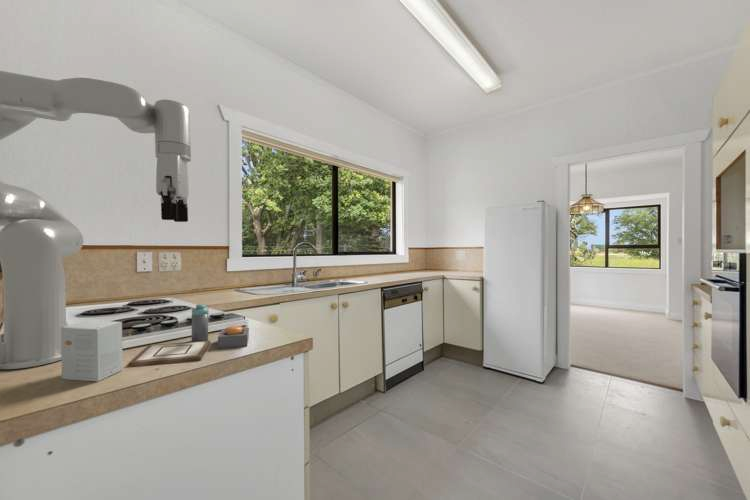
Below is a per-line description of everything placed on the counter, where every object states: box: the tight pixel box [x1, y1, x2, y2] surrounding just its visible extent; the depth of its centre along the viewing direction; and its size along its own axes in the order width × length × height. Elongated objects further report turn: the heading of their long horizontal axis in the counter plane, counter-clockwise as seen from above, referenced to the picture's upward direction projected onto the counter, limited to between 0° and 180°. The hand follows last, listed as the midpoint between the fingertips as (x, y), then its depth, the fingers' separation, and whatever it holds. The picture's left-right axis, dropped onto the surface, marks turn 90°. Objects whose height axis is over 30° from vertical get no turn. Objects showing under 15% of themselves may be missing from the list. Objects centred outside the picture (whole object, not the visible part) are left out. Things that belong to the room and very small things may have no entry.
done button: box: [225, 325, 243, 335], centre depth 85 cm, size 4×4×2 cm
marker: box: [191, 303, 209, 342], centre depth 86 cm, size 4×4×10 cm
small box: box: [60, 320, 124, 383], centre depth 63 cm, size 8×6×10 cm
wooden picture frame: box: [128, 340, 211, 367], centre depth 76 cm, size 14×12×1 cm
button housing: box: [217, 327, 250, 349], centre depth 85 cm, size 7×7×3 cm
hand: (175, 220), depth 80 cm, fingers open, 9 cm apart
